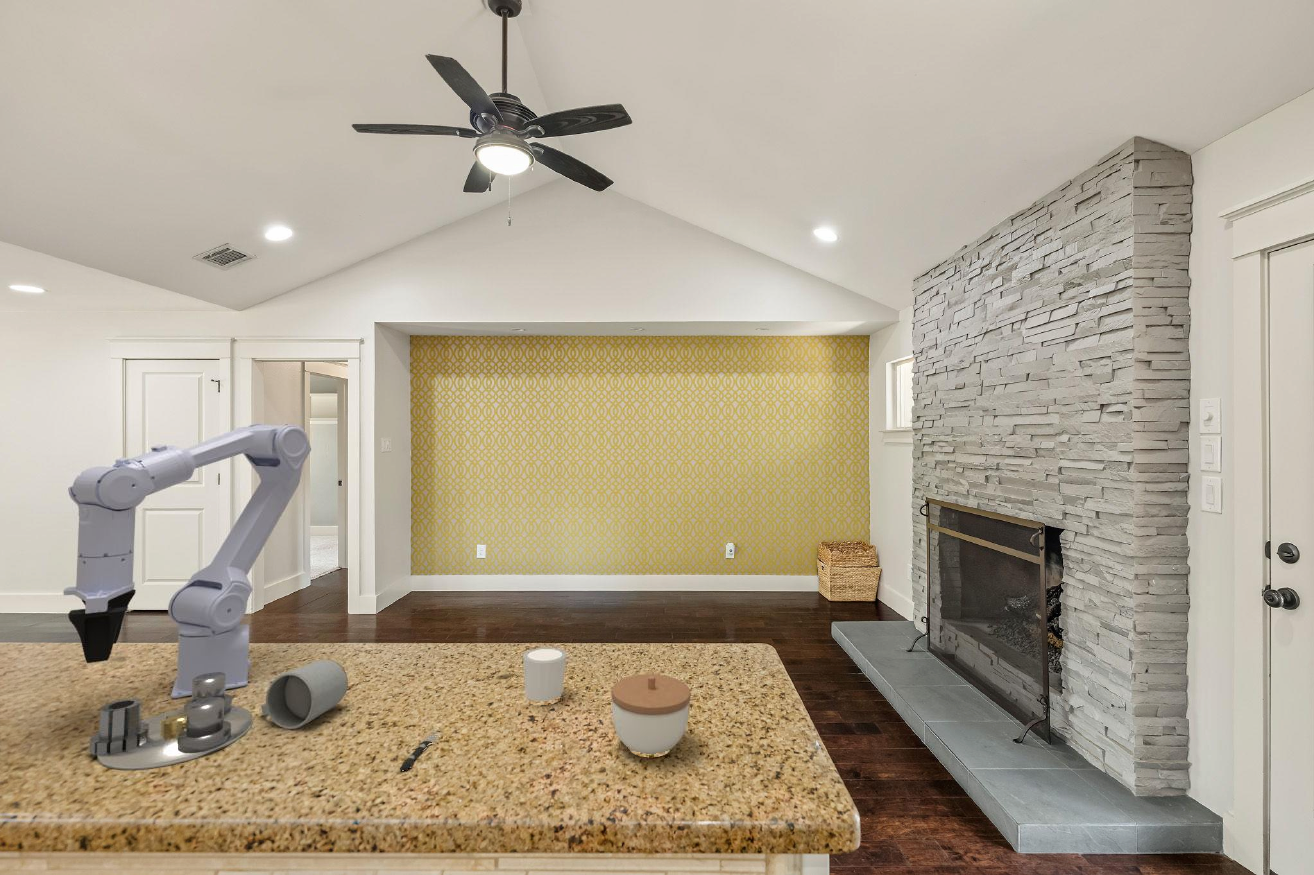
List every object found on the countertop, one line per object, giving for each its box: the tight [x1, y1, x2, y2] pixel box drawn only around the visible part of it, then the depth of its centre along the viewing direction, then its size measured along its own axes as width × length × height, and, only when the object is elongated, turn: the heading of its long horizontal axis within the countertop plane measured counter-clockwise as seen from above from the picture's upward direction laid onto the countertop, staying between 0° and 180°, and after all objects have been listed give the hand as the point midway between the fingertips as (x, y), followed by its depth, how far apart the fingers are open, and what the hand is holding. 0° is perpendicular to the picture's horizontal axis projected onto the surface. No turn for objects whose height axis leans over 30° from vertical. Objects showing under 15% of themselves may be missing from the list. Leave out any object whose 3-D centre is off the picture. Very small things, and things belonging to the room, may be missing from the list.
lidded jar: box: [611, 673, 692, 754], centre depth 80 cm, size 11×11×9 cm
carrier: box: [96, 672, 254, 771], centre depth 79 cm, size 16×16×6 cm
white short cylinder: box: [522, 647, 567, 702], centre depth 94 cm, size 7×7×7 cm
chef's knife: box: [399, 727, 443, 772], centre depth 81 cm, size 19×1×3 cm
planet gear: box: [88, 697, 149, 756], centre depth 75 cm, size 6×6×5 cm
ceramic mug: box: [260, 659, 349, 730], centre depth 86 cm, size 11×8×8 cm
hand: (102, 652), depth 81 cm, fingers open, 7 cm apart
